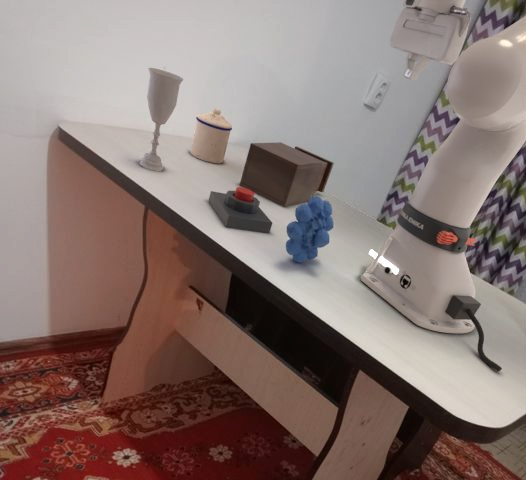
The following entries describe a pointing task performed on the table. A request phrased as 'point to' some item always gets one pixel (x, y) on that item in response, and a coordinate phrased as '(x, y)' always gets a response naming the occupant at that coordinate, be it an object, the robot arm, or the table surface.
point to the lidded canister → (211, 137)
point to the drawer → (324, 171)
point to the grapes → (309, 229)
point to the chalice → (160, 109)
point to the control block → (239, 212)
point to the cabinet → (280, 173)
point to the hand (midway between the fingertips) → (409, 79)
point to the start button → (244, 194)
